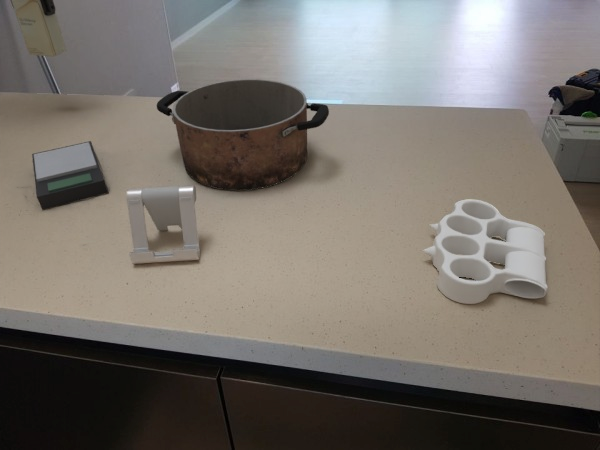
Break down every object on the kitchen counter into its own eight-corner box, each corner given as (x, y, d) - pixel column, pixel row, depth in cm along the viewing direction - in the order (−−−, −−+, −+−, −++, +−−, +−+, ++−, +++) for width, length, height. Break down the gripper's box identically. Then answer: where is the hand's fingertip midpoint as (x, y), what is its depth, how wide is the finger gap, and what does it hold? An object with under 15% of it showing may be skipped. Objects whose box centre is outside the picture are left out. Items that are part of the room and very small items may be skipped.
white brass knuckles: (542, 324, 51) (410, 291, 55) (539, 230, 64) (433, 210, 68) (551, 303, 49) (414, 271, 53) (546, 211, 62) (436, 191, 66)
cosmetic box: (29, 55, 94) (5, -10, 87) (43, 49, 98) (21, -14, 91) (55, 57, 93) (33, -9, 86) (69, 50, 97) (49, -13, 89)
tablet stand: (133, 267, 60) (116, 215, 55) (145, 230, 66) (130, 181, 61) (198, 262, 60) (187, 211, 55) (204, 227, 67) (195, 178, 62)
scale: (37, 166, 83) (30, 150, 81) (94, 152, 86) (89, 137, 84) (42, 210, 71) (35, 193, 69) (108, 192, 75) (103, 176, 73)
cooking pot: (340, 140, 88) (342, 86, 81) (308, 204, 71) (307, 141, 64) (200, 124, 95) (191, 73, 89) (140, 178, 78) (124, 120, 72)
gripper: (-49, -87, 80) (-8, 16, 90) (19, -87, 76) (53, 20, 86) (-14, -89, 85) (20, 8, 95) (50, -89, 82) (79, 11, 92)
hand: (36, 13), depth 91 cm, fingers closed on cosmetic box, 6 cm apart
